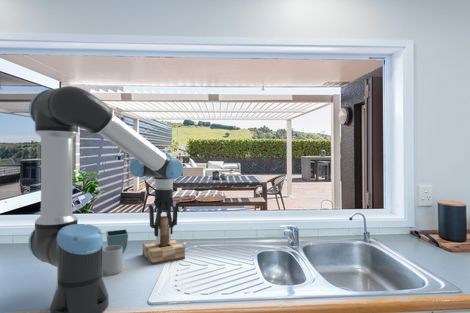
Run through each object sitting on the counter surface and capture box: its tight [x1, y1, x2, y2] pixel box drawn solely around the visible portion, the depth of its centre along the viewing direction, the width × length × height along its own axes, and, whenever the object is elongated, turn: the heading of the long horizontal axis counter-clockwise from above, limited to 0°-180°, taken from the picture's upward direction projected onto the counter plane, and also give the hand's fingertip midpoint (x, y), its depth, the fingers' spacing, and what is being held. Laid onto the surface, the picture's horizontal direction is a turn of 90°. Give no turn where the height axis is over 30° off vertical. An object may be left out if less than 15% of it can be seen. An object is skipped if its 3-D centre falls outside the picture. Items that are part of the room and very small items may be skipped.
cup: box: [102, 245, 124, 276], centre depth 118 cm, size 7×10×9 cm
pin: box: [159, 215, 169, 248], centre depth 133 cm, size 4×4×14 cm
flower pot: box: [105, 229, 129, 253], centre depth 139 cm, size 9×9×9 cm
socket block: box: [142, 238, 186, 266], centre depth 134 cm, size 14×14×5 cm
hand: (163, 242), depth 134 cm, fingers closed on pin, 4 cm apart
